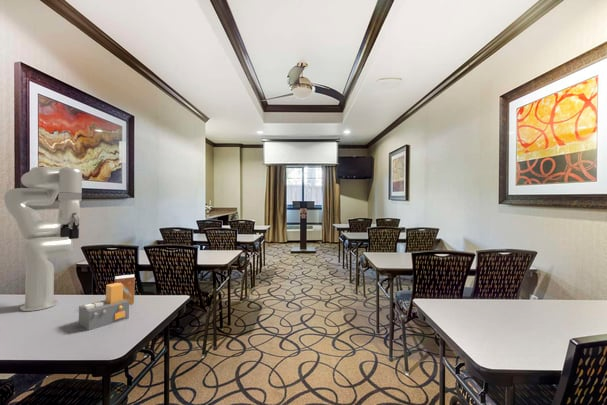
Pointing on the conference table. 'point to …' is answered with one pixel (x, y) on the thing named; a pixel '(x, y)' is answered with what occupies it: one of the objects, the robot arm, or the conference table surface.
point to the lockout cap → (114, 293)
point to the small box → (127, 286)
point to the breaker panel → (102, 313)
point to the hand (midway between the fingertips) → (69, 237)
